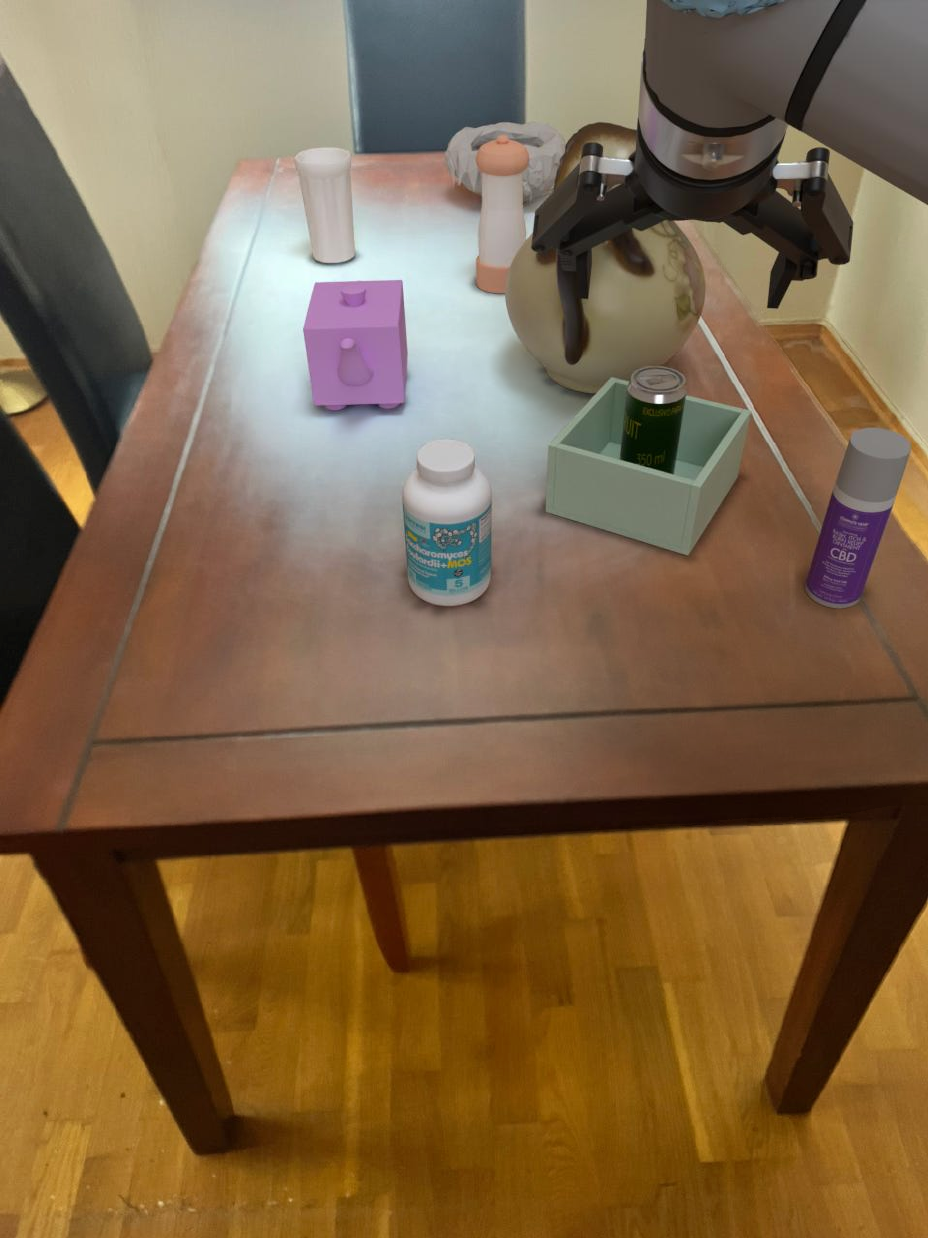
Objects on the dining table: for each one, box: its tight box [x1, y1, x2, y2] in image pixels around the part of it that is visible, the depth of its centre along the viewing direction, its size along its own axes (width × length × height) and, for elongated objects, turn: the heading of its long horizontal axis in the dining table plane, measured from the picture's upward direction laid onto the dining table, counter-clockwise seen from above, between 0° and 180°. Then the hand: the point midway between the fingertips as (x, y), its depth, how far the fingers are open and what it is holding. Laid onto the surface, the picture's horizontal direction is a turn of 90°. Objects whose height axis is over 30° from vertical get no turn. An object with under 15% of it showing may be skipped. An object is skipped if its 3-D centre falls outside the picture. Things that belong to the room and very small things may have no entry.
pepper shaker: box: [475, 135, 530, 294], centre depth 125 cm, size 7×7×19 cm
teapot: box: [302, 279, 409, 411], centre depth 104 cm, size 20×10×12 cm, turn 1°
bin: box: [545, 377, 752, 556], centre depth 90 cm, size 15×15×8 cm
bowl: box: [444, 121, 567, 203], centre depth 154 cm, size 21×20×10 cm
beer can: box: [620, 365, 688, 475], centre depth 88 cm, size 5×5×12 cm
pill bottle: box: [401, 438, 493, 607], centre depth 78 cm, size 8×7×14 cm
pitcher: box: [504, 121, 707, 395], centre depth 102 cm, size 22×24×25 cm
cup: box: [293, 146, 356, 264], centre depth 135 cm, size 8×8×14 cm
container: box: [804, 427, 912, 609], centre depth 76 cm, size 5×5×15 cm
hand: (678, 285), depth 68 cm, fingers open, 13 cm apart
